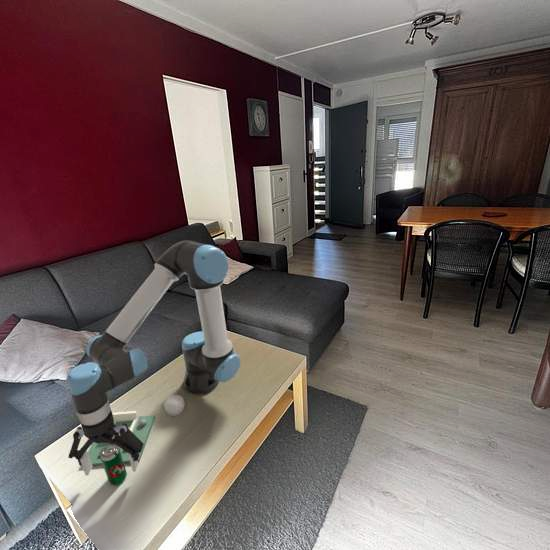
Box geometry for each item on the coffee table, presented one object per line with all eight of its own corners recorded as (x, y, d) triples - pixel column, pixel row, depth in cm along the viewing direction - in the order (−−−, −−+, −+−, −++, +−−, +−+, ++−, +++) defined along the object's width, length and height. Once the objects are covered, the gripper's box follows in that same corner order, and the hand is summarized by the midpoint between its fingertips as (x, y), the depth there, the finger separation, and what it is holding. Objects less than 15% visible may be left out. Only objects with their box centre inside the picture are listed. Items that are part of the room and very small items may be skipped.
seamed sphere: (188, 405, 120) (185, 390, 117) (181, 420, 113) (179, 405, 110) (163, 404, 121) (160, 389, 118) (156, 419, 114) (152, 404, 111)
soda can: (113, 471, 95) (104, 443, 91) (129, 469, 96) (121, 442, 91) (106, 487, 91) (96, 459, 86) (123, 485, 91) (114, 457, 87)
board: (155, 417, 115) (153, 408, 113) (139, 462, 98) (136, 452, 96) (106, 421, 114) (103, 411, 112) (81, 467, 97) (77, 457, 95)
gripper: (146, 402, 88) (158, 454, 95) (56, 408, 86) (76, 460, 94) (137, 423, 81) (151, 477, 88) (39, 430, 79) (62, 485, 87)
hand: (112, 469), depth 91 cm, fingers open, 13 cm apart
